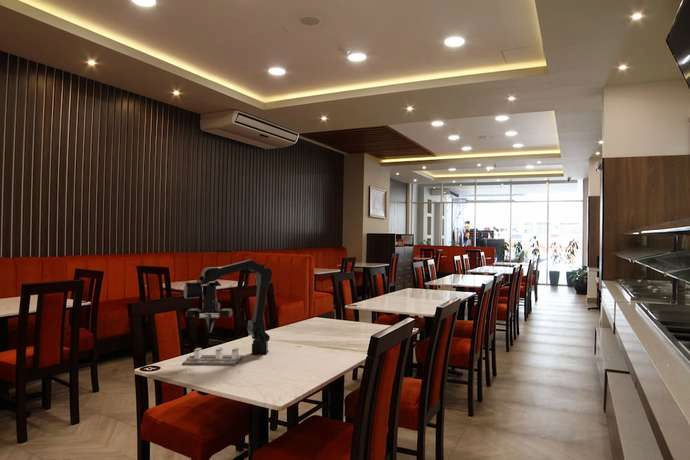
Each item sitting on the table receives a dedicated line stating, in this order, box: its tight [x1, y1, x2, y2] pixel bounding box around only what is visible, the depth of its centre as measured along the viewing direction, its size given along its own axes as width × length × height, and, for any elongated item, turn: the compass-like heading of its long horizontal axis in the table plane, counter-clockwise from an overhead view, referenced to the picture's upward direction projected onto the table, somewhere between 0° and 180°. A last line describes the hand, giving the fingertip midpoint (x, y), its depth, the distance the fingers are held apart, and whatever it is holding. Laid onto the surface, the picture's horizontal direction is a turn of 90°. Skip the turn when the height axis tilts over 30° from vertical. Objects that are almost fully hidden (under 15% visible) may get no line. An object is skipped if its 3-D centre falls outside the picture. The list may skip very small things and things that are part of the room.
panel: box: [182, 354, 245, 366], centre depth 198 cm, size 22×13×2 cm, turn 88°
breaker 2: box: [215, 347, 224, 359], centre depth 198 cm, size 2×3×4 cm, turn 178°
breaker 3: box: [231, 347, 239, 359], centre depth 198 cm, size 2×3×4 cm, turn 178°
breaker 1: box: [193, 347, 203, 359], centre depth 198 cm, size 2×3×4 cm, turn 178°
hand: (209, 332), depth 198 cm, fingers closed
